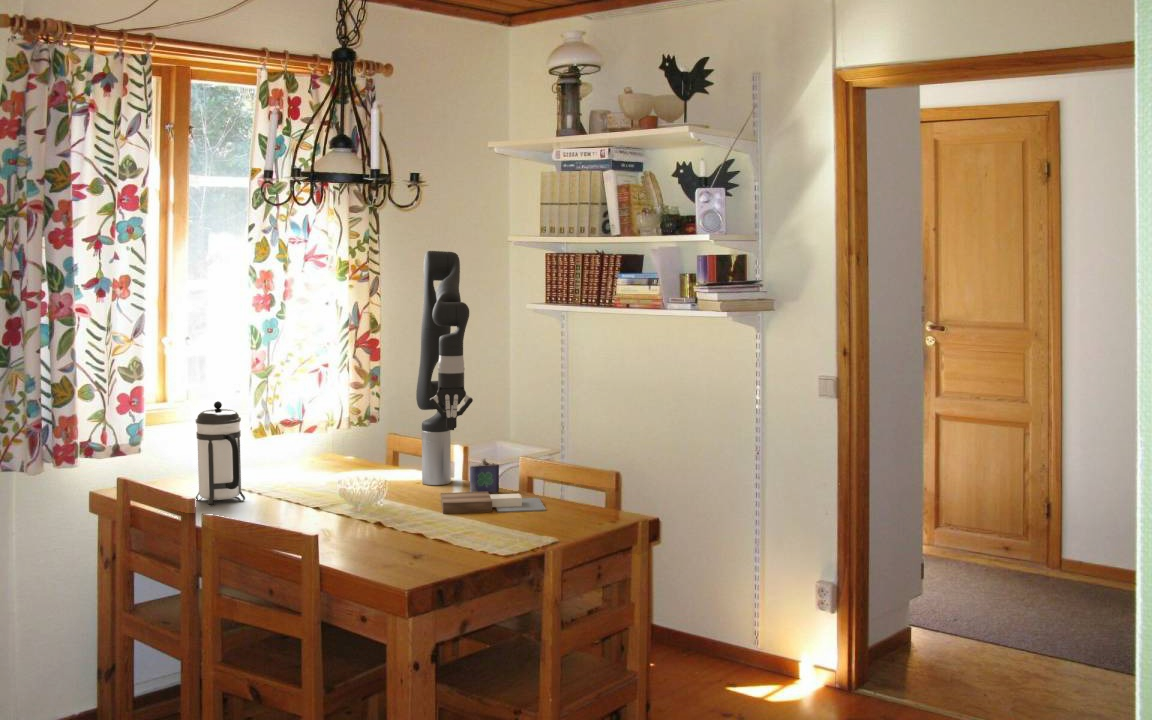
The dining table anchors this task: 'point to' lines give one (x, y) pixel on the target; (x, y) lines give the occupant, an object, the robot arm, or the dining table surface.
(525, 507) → the mat
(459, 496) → the board
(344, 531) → the dining table surface
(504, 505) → the tile
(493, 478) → the flask
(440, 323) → the robot arm
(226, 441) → the coffee press
